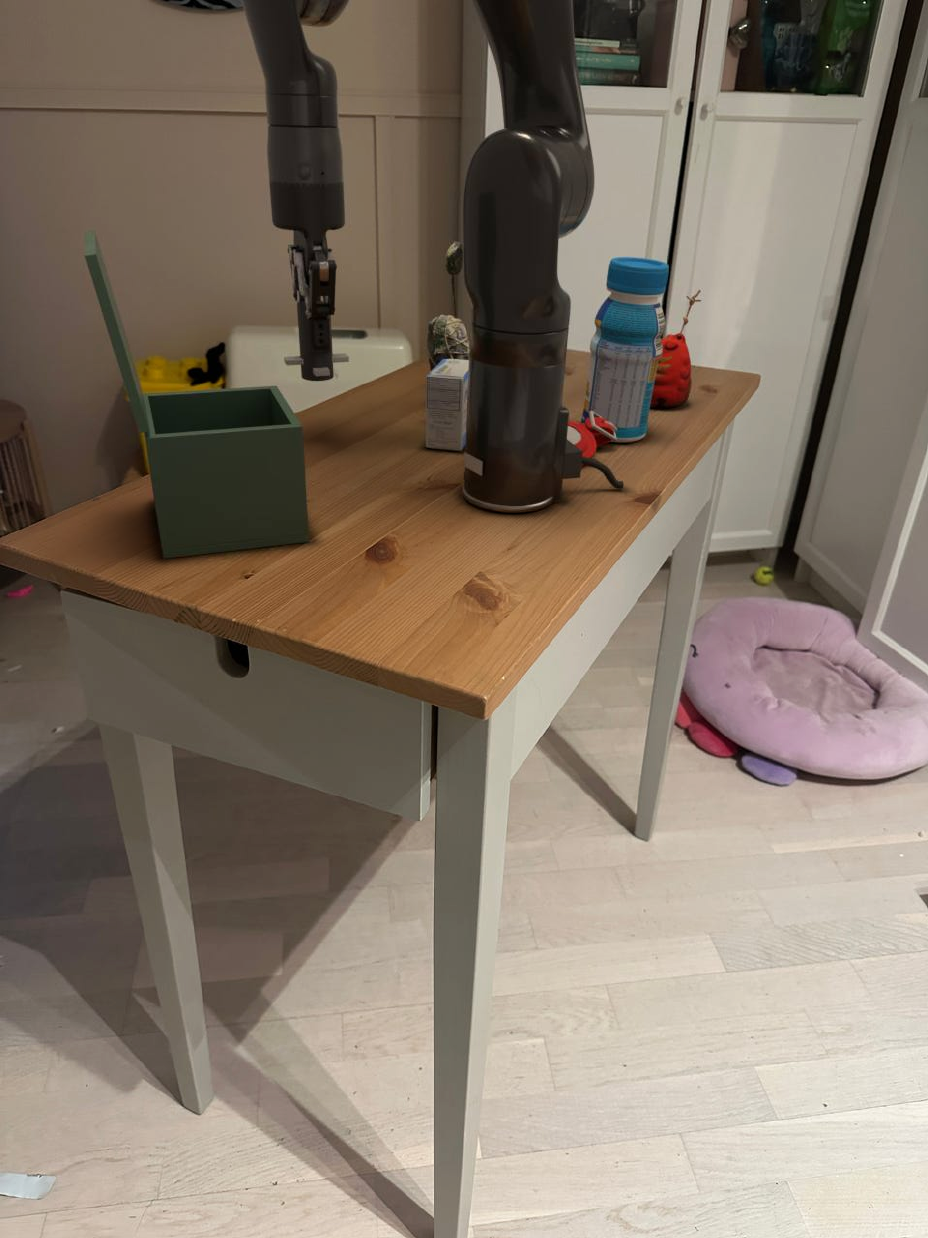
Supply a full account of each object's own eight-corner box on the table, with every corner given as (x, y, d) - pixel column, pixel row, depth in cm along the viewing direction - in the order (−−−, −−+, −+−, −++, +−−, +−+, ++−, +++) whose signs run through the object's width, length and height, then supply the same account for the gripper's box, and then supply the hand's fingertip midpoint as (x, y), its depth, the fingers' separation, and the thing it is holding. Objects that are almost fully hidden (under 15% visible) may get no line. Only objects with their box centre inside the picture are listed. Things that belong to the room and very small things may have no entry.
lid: (94, 230, 73) (84, 231, 73) (95, 253, 63) (84, 255, 63) (141, 387, 81) (132, 389, 80) (149, 431, 71) (139, 433, 70)
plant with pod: (405, 411, 115) (406, 245, 104) (454, 392, 123) (459, 236, 113) (457, 424, 111) (463, 253, 101) (504, 403, 119) (514, 243, 109)
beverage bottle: (602, 447, 105) (630, 268, 95) (565, 424, 111) (588, 254, 101) (660, 441, 108) (693, 267, 98) (621, 419, 115) (648, 254, 104)
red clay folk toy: (634, 393, 126) (649, 282, 118) (684, 396, 125) (703, 285, 118) (638, 409, 119) (654, 292, 112) (691, 412, 119) (711, 295, 111)
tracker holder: (581, 466, 96) (503, 428, 99) (572, 497, 99) (497, 459, 102) (629, 415, 103) (555, 381, 106) (619, 446, 107) (548, 412, 109)
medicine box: (461, 452, 102) (464, 377, 98) (424, 448, 103) (425, 373, 98) (474, 431, 109) (478, 360, 104) (439, 428, 109) (441, 356, 105)
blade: (341, 368, 104) (338, 297, 100) (354, 381, 99) (351, 307, 95) (282, 372, 102) (276, 299, 98) (291, 386, 97) (286, 310, 93)
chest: (284, 490, 90) (276, 385, 85) (309, 542, 80) (302, 425, 75) (154, 503, 86) (138, 393, 81) (163, 559, 76) (145, 437, 71)
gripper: (359, 182, 86) (364, 362, 94) (327, 172, 97) (334, 333, 106) (281, 182, 83) (294, 366, 92) (258, 171, 95) (271, 336, 103)
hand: (316, 348), depth 99 cm, fingers closed on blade, 3 cm apart
